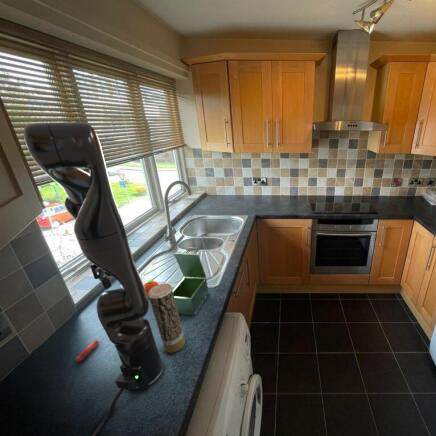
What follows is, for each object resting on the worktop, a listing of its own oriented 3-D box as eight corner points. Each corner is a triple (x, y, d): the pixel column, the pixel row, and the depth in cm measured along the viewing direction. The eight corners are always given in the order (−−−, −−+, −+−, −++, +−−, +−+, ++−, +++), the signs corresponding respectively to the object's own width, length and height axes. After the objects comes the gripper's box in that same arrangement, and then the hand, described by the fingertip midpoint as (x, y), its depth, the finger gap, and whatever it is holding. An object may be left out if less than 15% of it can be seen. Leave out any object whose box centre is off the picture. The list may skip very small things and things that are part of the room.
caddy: (194, 315, 99) (191, 299, 96) (171, 313, 100) (166, 297, 97) (208, 293, 111) (206, 278, 108) (187, 292, 112) (184, 276, 109)
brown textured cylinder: (179, 334, 90) (165, 280, 81) (188, 344, 86) (175, 289, 77) (161, 346, 86) (144, 291, 76) (170, 357, 82) (153, 300, 72)
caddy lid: (197, 255, 99) (203, 245, 104) (173, 253, 100) (180, 244, 105) (205, 278, 107) (210, 268, 112) (183, 276, 109) (189, 266, 114)
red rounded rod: (80, 363, 80) (78, 359, 79) (75, 363, 80) (73, 359, 79) (100, 343, 87) (98, 339, 86) (95, 342, 87) (93, 338, 86)
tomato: (147, 289, 114) (143, 277, 112) (163, 287, 116) (159, 275, 113) (142, 300, 107) (138, 288, 104) (158, 298, 109) (155, 285, 106)
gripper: (75, 254, 77) (92, 294, 84) (114, 257, 75) (128, 297, 82) (96, 243, 84) (110, 280, 90) (132, 245, 82) (144, 283, 89)
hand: (119, 288), depth 86 cm, fingers open, 8 cm apart
